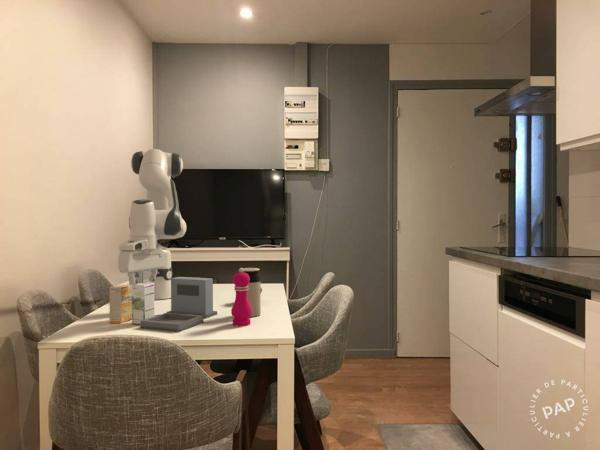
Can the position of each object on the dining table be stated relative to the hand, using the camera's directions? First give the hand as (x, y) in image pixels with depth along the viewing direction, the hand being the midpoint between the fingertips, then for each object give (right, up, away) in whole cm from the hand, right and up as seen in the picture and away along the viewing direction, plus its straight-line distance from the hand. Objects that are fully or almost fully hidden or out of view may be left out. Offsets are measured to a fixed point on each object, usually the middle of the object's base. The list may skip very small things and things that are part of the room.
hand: (143, 282), depth 156 cm
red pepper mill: (+36, -15, -2) cm, 38 cm away
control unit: (+14, -14, +14) cm, 25 cm away
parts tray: (+11, -15, -3) cm, 19 cm away
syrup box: (0, -15, 0) cm, 15 cm away
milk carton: (-8, -15, +21) cm, 27 cm away
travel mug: (+37, -14, +13) cm, 42 cm away
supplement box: (-9, -15, +4) cm, 18 cm away
